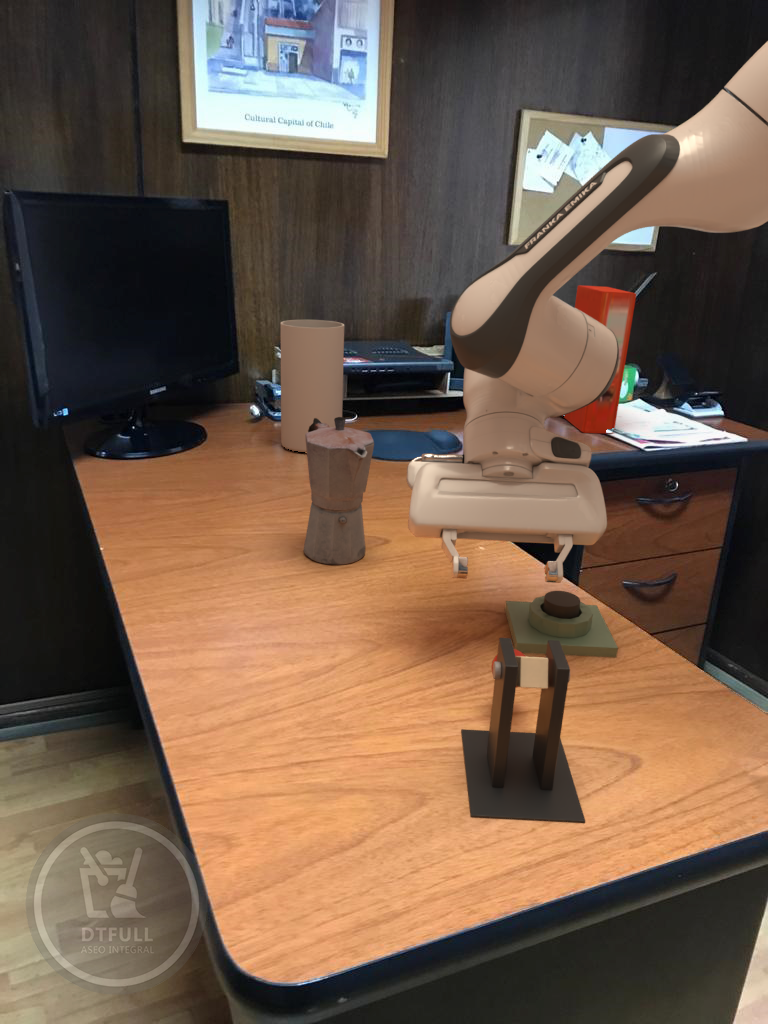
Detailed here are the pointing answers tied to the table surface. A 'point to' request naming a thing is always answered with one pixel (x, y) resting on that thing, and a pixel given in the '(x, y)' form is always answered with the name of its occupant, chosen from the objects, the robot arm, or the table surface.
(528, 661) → the lever
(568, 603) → the button
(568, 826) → the table surface
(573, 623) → the block
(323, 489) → the moka pot
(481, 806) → the switch base
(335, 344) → the cylinder vase
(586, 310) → the file binder
